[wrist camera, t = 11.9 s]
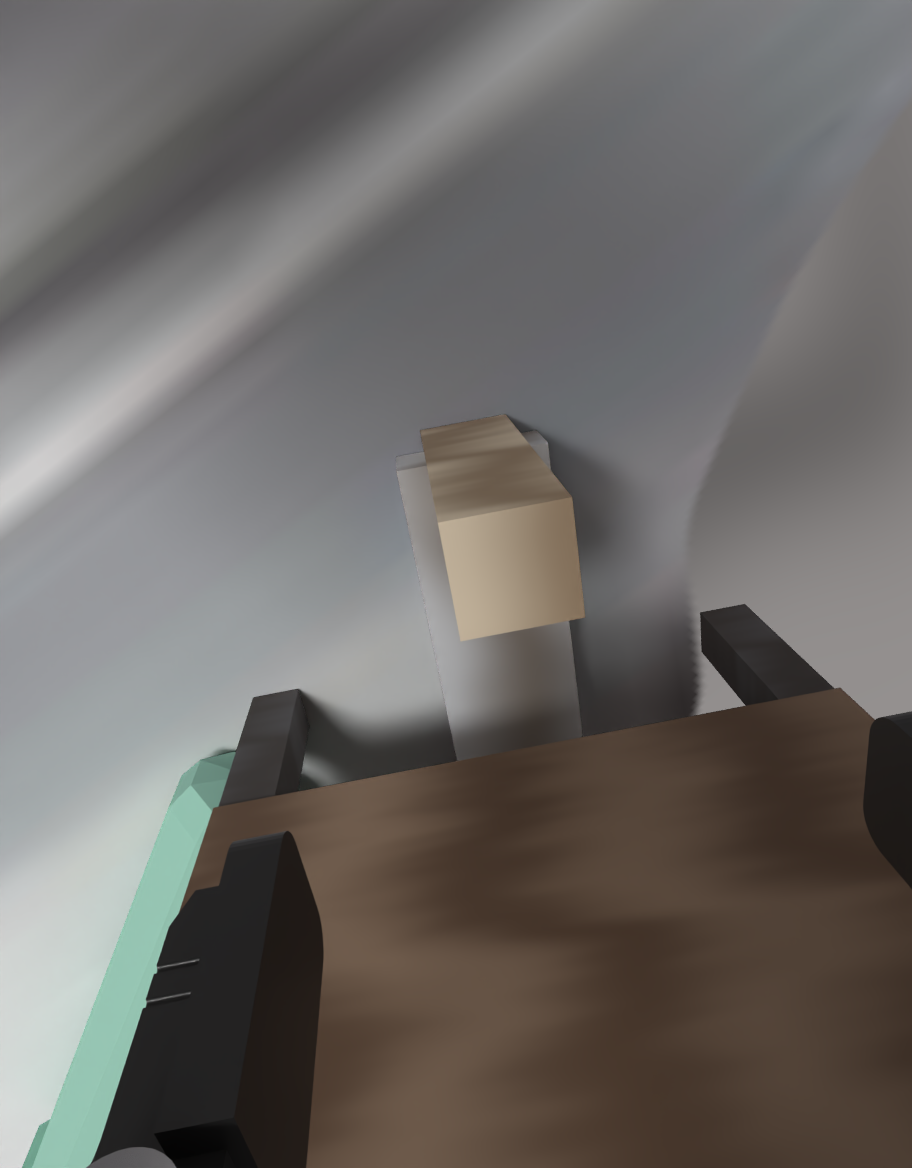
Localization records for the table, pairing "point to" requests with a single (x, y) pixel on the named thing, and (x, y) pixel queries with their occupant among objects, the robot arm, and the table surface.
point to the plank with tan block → (496, 582)
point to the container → (130, 975)
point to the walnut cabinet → (604, 938)
